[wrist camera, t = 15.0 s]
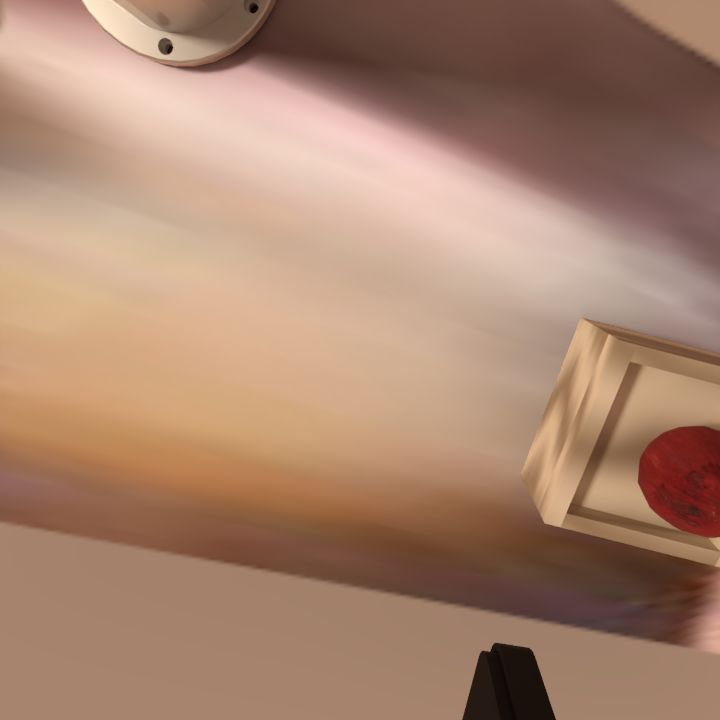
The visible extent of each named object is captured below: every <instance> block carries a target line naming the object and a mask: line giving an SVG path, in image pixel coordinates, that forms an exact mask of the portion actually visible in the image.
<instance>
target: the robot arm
mask: <svg viewBox="0 0 720 720" xmlns="http://www.w3.org/2000/svg"><path fill="white" fill-rule="evenodd" d="M81 1H82V3H83V4H84V6H85V8H86V9H87V11H88V12H89V14H90V15H91V16H92V17H93V18H94V19H95V21H96V22H97V23H98V24H99V25H100V26H101V27H102V29H103V30H104V31H105V32H107V33H108V34H109V35H110V36H112V37H113V38H114V39H115V40H117V41H118V42H119V43H120V44H121V45H123V46H125V47H126V48H128V49H130V50H131V51H133V52H134V53H136V54H138V55H140V56H143V57H145V58H147V59H150V60H152V61H154V62H157V63H162V64H167V65H172V66H199V65H203V64H208V63H212V62H216V61H218V60H220V59H222V58H224V57H226V56H228V55H230V54H233V53H234V52H235V51H237V50H238V49H239V48H240V47H242V46H243V45H244V44H246V43H247V42H248V41H249V40H250V39H251V38H252V37H253V36H254V35H255V34H256V32H257V31H258V30H259V29H260V28H261V27H262V25H263V24H264V22H265V21H266V19H267V17H268V15H269V14H270V12H271V10H272V8H273V7H274V5H275V2H276V0H81ZM253 6H258V11H257V12H255V13H251V8H252V7H253ZM171 46H173V50H172V52H171V53H170V54H168V48H169V47H171ZM463 720H556V719H555V716H554V713H553V710H552V707H551V704H550V701H549V698H548V695H547V692H546V689H545V686H544V683H543V680H542V677H541V674H540V671H539V668H538V665H537V662H536V659H535V656H534V654H533V652H532V650H531V649H530V648H526V647H520V646H513V645H506V644H500V643H494V645H493V646H492V649H491V651H490V652H488V651H482V652H481V653H480V656H479V659H478V663H477V666H476V670H475V674H474V678H473V682H472V685H471V689H470V693H469V697H468V701H467V705H466V708H465V712H464V716H463Z"/></svg>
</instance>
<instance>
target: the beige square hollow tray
mask: <svg viewBox="0 0 720 720" xmlns="http://www.w3.org/2000/svg"><path fill="white" fill-rule="evenodd" d="M685 426H706V427H709V428H712V429H715V430H718V431H720V354H717V353H713V352H709V351H706V350H702V349H698V348H694V347H690V346H687V345H683V344H679V343H675V342H671V341H668V340H664V339H660V338H656V337H652V336H649V335H645V334H641V333H637V332H633V331H629V330H626V329H622V328H618V327H614V326H610V325H607V324H603V323H599V322H595V321H591V320H588V319H584V318H581V319H580V321H579V324H578V326H577V329H576V332H575V334H574V337H573V339H572V342H571V345H570V347H569V350H568V353H567V355H566V358H565V360H564V363H563V366H562V368H561V371H560V374H559V376H558V379H557V381H556V384H555V387H554V389H553V392H552V394H551V397H550V400H549V402H548V405H547V408H546V410H545V413H544V415H543V418H542V421H541V423H540V426H539V429H538V431H537V434H536V436H535V439H534V442H533V444H532V447H531V449H530V452H529V455H528V457H527V460H526V463H525V465H524V468H523V470H522V473H521V477H522V479H523V481H524V483H525V485H526V487H527V489H528V491H529V493H530V495H531V497H532V499H533V501H534V503H535V505H536V507H537V509H538V511H539V513H540V515H541V517H542V519H543V521H544V523H546V524H550V525H554V526H558V527H562V528H566V529H570V530H574V531H578V532H582V533H585V534H589V535H593V536H597V537H601V538H605V539H609V540H613V541H617V542H621V543H625V544H629V545H633V546H637V547H641V548H645V549H649V550H653V551H657V552H661V553H665V554H669V555H673V556H677V557H681V558H685V559H689V560H693V561H697V562H701V563H705V564H709V565H713V566H717V567H720V537H718V538H706V537H703V536H699V535H695V534H691V533H687V532H684V531H681V530H679V529H677V528H675V527H673V526H672V525H671V524H669V523H668V522H666V521H665V520H664V519H662V518H661V517H660V516H658V515H657V514H656V513H655V512H654V511H653V510H652V509H651V508H650V507H649V505H648V503H647V501H646V499H645V497H644V495H643V493H642V491H641V488H640V486H639V484H638V472H639V462H640V457H641V455H642V454H643V452H644V451H645V449H646V447H647V446H648V444H649V443H650V442H651V441H653V440H654V439H655V438H657V437H658V436H659V435H661V434H662V433H663V432H666V431H669V430H672V429H675V428H678V427H685Z"/></svg>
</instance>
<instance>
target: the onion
mask: <svg viewBox="0 0 720 720" xmlns="http://www.w3.org/2000/svg"><path fill="white" fill-rule="evenodd" d="M638 484H639V486H640V488H641V491H642V493H643V495H644V497H645V499H646V501H647V503H648V505H649V507H650V508H651V509H652V510H653V511H654V512H655V513H656V514H657V515H658V516H660V517H661V518H662V519H664V520H665V521H666V522H668V523H669V524H671V525H672V526H673V527H675V528H677V529H679V530H681V531H684V532H687V533H691V534H695V535H699V536H703V537H706V538H718V537H720V431H718V430H715V429H712V428H709V427H706V426H685V427H678V428H675V429H672V430H669V431H666V432H663V433H662V434H661V435H659V436H658V437H657V438H655V439H654V440H653V441H651V442H650V443H649V444H648V446H647V447H646V449H645V451H644V452H643V454H642V455H641V457H640V462H639V472H638Z"/></svg>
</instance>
